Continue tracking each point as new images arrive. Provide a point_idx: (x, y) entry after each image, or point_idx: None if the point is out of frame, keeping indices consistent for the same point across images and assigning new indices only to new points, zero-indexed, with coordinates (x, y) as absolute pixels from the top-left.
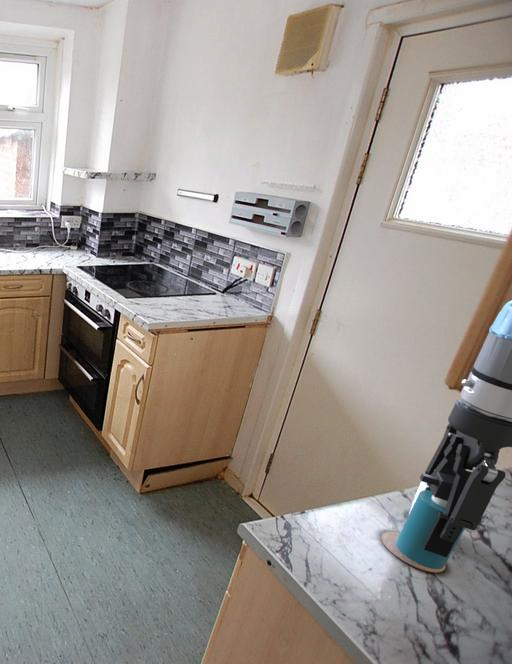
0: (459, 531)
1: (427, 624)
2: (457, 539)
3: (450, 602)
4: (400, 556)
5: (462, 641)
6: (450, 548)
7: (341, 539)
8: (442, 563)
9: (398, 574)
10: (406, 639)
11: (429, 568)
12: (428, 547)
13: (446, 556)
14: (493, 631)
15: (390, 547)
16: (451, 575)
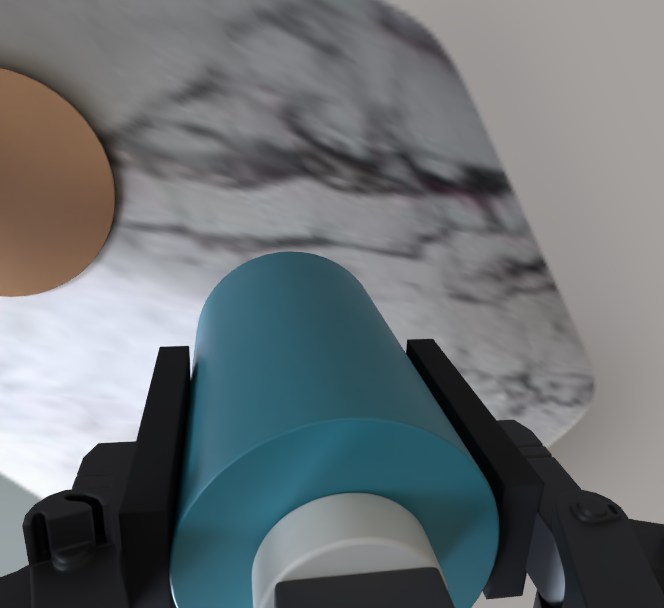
0: (569, 477)
1: (417, 231)
2: (398, 349)
3: (253, 121)
4: (83, 247)
5: (437, 142)
6: (450, 368)
7: (129, 430)
8: (368, 295)
9: (207, 271)
10: (510, 303)
11: (82, 148)
12: None
13: (433, 343)
14: (327, 8)
15: (46, 274)
16: (56, 59)
